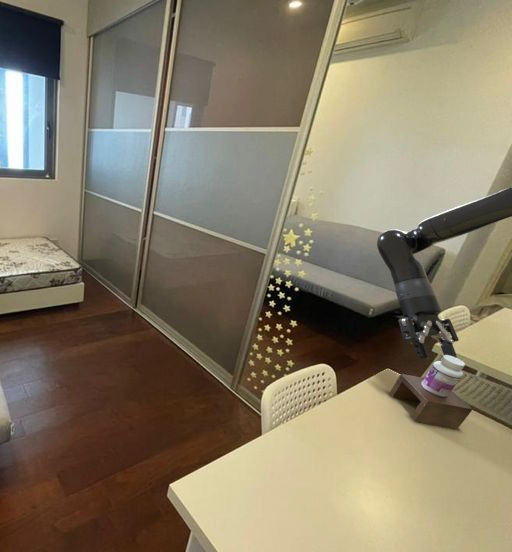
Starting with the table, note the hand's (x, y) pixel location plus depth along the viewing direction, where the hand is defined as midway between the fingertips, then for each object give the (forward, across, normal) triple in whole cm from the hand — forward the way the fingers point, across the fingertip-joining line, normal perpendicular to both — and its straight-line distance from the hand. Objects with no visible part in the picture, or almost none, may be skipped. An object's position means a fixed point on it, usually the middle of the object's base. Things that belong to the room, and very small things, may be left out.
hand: (437, 359), depth 81 cm
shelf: (+12, 0, +8) cm, 15 cm away
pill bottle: (+8, 0, +4) cm, 8 cm away
